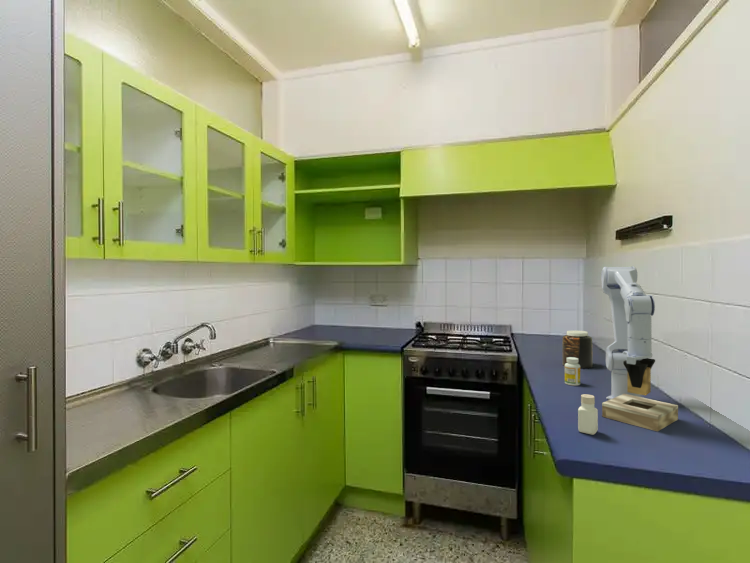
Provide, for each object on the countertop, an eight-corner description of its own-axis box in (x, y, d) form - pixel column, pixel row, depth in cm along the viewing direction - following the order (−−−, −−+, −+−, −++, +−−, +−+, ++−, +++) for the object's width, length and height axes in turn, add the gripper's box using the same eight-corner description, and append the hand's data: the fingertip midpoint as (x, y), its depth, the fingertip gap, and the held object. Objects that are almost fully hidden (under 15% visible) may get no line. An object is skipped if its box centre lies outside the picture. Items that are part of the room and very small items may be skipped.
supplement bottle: (569, 386, 149) (569, 360, 148) (561, 382, 154) (561, 357, 154) (583, 385, 149) (583, 359, 149) (575, 381, 155) (574, 356, 154)
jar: (585, 370, 171) (584, 334, 171) (557, 365, 180) (557, 331, 180) (597, 365, 179) (596, 331, 178) (570, 361, 188) (570, 329, 187)
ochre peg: (632, 388, 119) (632, 365, 119) (650, 392, 116) (650, 367, 116) (627, 392, 116) (627, 367, 116) (645, 395, 113) (645, 370, 113)
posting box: (624, 406, 126) (624, 393, 126) (678, 419, 115) (678, 405, 114) (602, 416, 118) (602, 402, 118) (657, 431, 106) (657, 416, 106)
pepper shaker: (598, 431, 107) (598, 395, 107) (594, 436, 104) (594, 399, 104) (581, 427, 110) (581, 392, 110) (577, 432, 107) (577, 396, 107)
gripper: (632, 333, 123) (632, 377, 124) (614, 339, 114) (614, 387, 114) (659, 335, 118) (659, 382, 118) (643, 342, 109) (643, 392, 109)
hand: (639, 385), depth 116 cm, fingers closed on ochre peg, 4 cm apart
